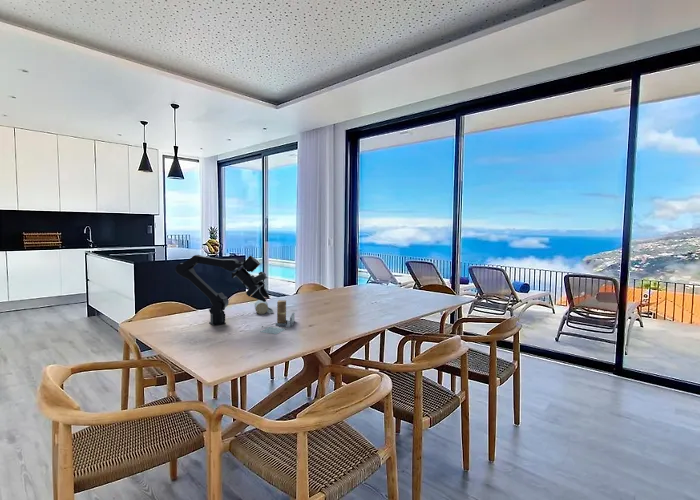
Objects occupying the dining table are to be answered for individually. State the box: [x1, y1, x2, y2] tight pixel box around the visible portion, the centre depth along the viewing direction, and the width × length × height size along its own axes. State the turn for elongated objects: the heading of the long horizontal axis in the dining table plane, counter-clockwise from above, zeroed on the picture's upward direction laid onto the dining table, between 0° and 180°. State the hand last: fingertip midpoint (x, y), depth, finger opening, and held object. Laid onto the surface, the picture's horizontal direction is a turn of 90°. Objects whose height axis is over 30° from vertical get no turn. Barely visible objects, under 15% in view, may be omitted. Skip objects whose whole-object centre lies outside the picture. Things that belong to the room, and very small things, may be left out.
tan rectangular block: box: [276, 299, 287, 323], centre depth 193 cm, size 4×4×12 cm
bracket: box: [275, 312, 296, 328], centre depth 193 cm, size 8×12×5 cm
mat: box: [260, 326, 286, 335], centre depth 181 cm, size 9×9×1 cm
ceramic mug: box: [254, 299, 274, 315], centre depth 217 cm, size 11×8×8 cm
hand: (267, 299), depth 192 cm, fingers open, 9 cm apart
